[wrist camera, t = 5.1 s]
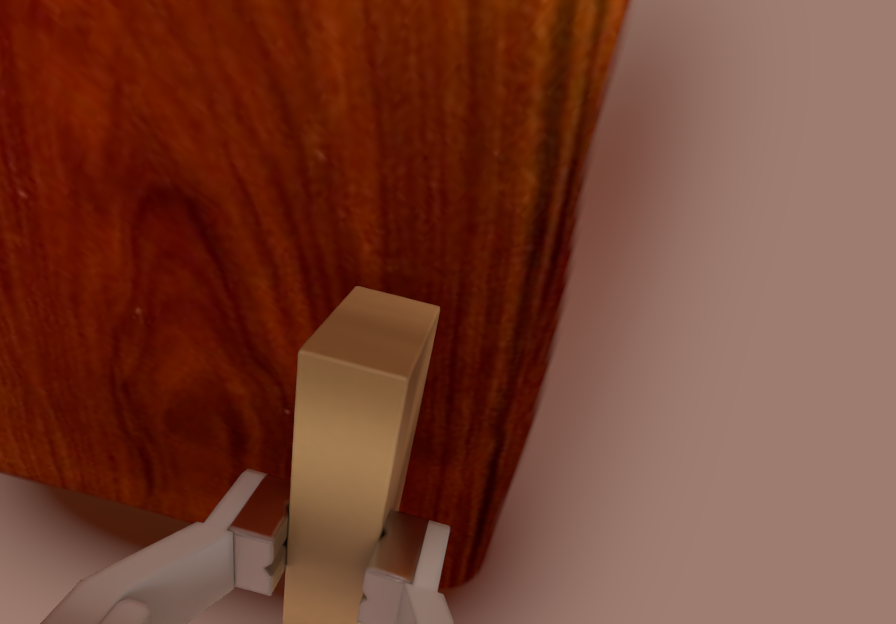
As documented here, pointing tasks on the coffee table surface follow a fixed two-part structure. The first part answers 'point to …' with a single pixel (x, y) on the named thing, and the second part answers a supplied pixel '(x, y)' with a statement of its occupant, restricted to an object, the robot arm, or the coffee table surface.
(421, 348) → the tan wooden bar
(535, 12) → the coffee table surface
